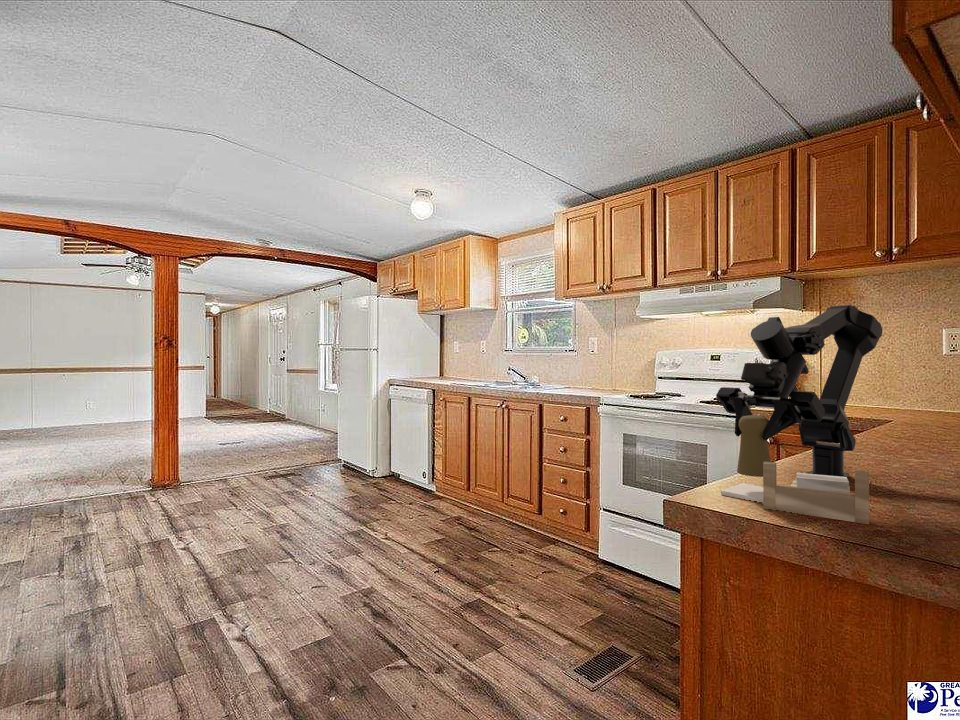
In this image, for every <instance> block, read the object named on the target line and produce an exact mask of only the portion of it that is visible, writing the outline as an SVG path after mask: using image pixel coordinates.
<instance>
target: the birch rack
mask: <svg viewBox="0 0 960 720" xmlns="http://www.w3.org/2000/svg"><path fill="white" fill-rule="evenodd" d="M762 479H763V481H762V482H763V483H762V484H763V485H762V487H763V503H762V505H763V508H764V510H768V509H772V510H771V511H776V510H779V511H778V512H783V511H786V512H785V513H790V512H792V514H797V513H798V514H797V515H803V514H804V515H805V516H810V517H811V516H812V517H818V518H825V519H830V520H831V519H833V520H840V521H846V522H852V523H856V524H857V523H858V524H865V525H870V472H869V471H865V470H855V471H854V494H843V493H834V492H826V491H818V490H810V489H802V488H793V487H790V486H784V485H778V484H777V462H775V461H771V462H767V461H765V462H764V463H763V477H762ZM763 508H762V509H763Z"/></svg>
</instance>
